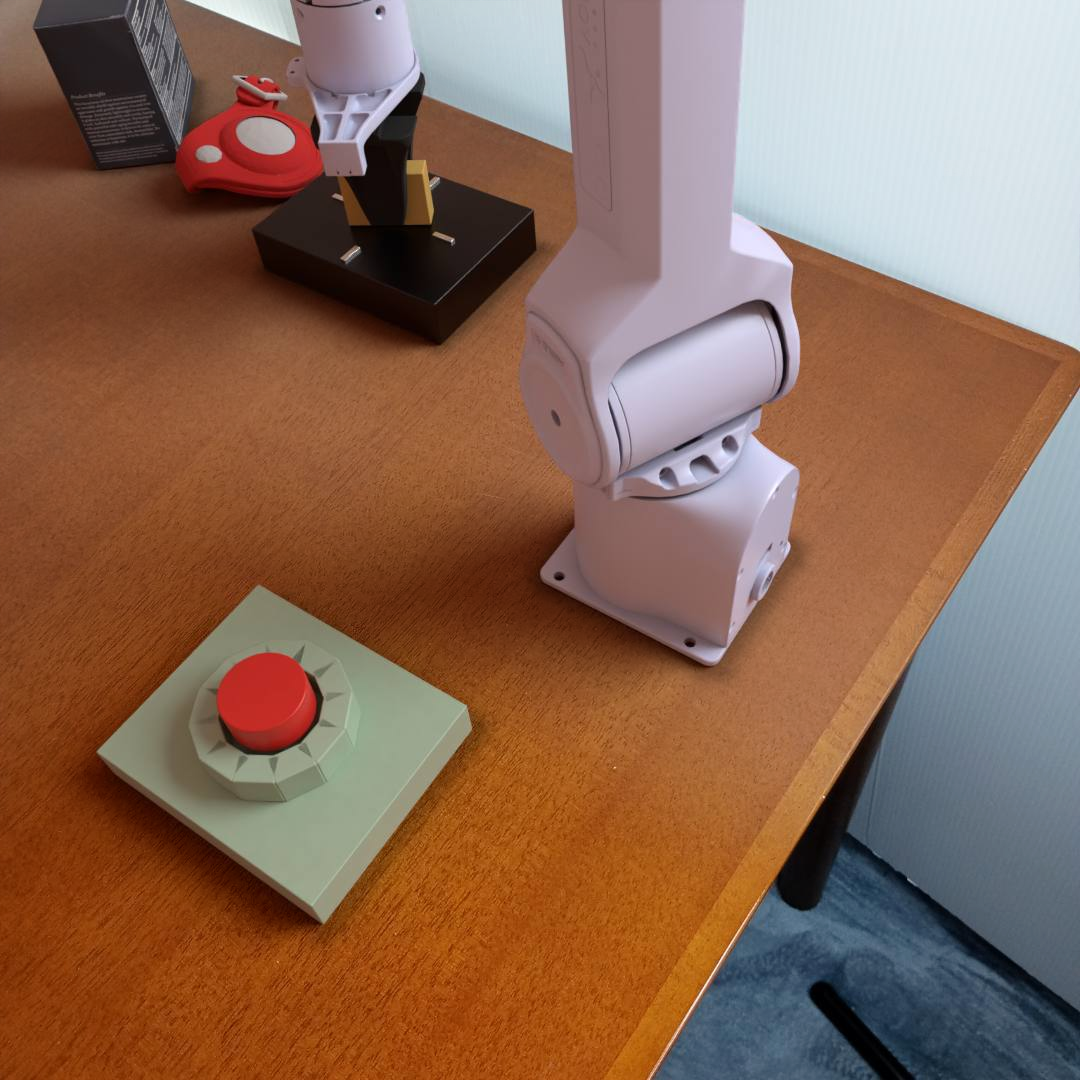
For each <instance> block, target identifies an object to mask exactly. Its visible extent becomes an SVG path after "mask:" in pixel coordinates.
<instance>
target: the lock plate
mask: <svg viewBox="0 0 1080 1080" xmlns="http://www.w3.org/2000/svg"><path fill="white" fill-rule="evenodd" d="M428 177H429V183H430V190H431V196H432V202H433V208H434V213H433V218H432V223H431V225H402V226H372V225H359V226H350V225H349V222H348V218H347V214H346V210H345V205H344V201H343V197H342V193H341V189H340V185H339V180H338V176H326V174H325V170H323V171H322V174H320V175H319V176H318V177H317V178H315V179H314V180H313V181H312V182H310V183H309V184H308V185H307V186H305V187H304V188H303V189H302V190H300V191H299V192H298V193H297V194H295V195H294V196H292V197H289V199H288V200H286V201H285V202H284V203H283V204H281V205H280V206H279V207H277V208H276V209H275V210H274V211H272V212H271V213H270V214H269V215H268V216H266V217H264V219H262V220H261V221H260V222H258V224H256V225H255V226H253V227H252V228H251V232H252V235H253V239H254V242H255V246H256V249H257V252H258V254H259V257H260V260H261V264H262V266H263V269H264V270H265V271H266V270H267V272H271V273H273V274H276V275H277V276H280V277H282V278H285V279H287V280H289V281H291V282H294V283H296V284H299V285H300V286H301V285H302V286H303V287H306V288H308V289H310V290H312V291H315V292H317V293H319V294H321V295H323V296H324V295H325V296H327V297H329V298H332V299H334V300H336V301H338V302H341V303H343V304H345V305H348V306H350V307H352V308H355V309H357V310H359V311H362V312H364V313H366V314H369V315H371V316H373V317H376V318H378V319H379V320H383V321H385V322H387V323H390V324H391V325H394V326H397V327H399V328H401V329H404V330H406V331H408V332H410V333H412V334H415V335H417V336H420V337H422V338H425V339H427V340H429V341H432V342H434V343H436V344H438V345H443V344H444V343H445V342H446V341H447V340H448V339H449V338H450V337H451V336H452V335H453V334H454V333H455V332H456V331H457V330H458V329H459V328H460V327H461V326H462V325H463V324H464V323H465V322H466V321H467V320H468V319H469V318H470V317H471V316H472V315H473V314H474V313H475V312H476V311H477V310H478V309H479V308H480V307H481V306H482V305H483V304H484V303H485V302H486V301H487V300H488V299H489V298H490V297H491V296H492V295H493V294H494V293H495V292H496V291H497V290H498V289H499V288H500V287H501V286H502V285H503V284H504V283H505V282H506V281H507V280H508V279H510V277H512V275H514V273H515V272H516V271H517V270H519V269H520V267H521V266H522V265H523V264H524V263H525V262H526V261H527V260H528V259H530V257H531V256H533V254H534V253H535V252H536V251H537V250H538V249H537V248H538V247H537V235H536V234H537V233H536V222H535V221H536V219H535V210H534V209H533V208H530V207H527V206H525V205H523V204H519V203H516V202H513V201H511V200H508V199H505V198H502V197H499V196H497V195H493V194H491V193H488V192H486V191H483V190H480V189H477V188H474V187H471V186H468V185H465V184H463V183H460V182H458V181H455V180H451V179H449V178H446V177H443V176H440V175H437V174H435V173H432V172H429V171H428Z"/></svg>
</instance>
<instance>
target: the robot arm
mask: <svg viewBox="0 0 1080 1080" xmlns="http://www.w3.org/2000/svg"><path fill="white" fill-rule="evenodd" d="M289 3H290V7H291V11H292V15H293V19H294V23H295V27H296V32H297V35H298V39H299V44H300V48H301V52H302V55H301V56H295V57H293V58H292V59H291V60H290V61H289V63H288V65H287V68H286V71H285V77H286V81H287V85H288V87H290V88H295V89H298V88H299V89H300V88H301V89H305V90H307V92H308V94H309V98H310V101H311V104H312V109H313V110H314V114H313V117H312V121H311V124H310V127H309V128H310V131H311V135H312V139H313V142H314V144H315V146H316V148H317V149H318V150H319V151H320V154H321V158H322V162H323V171H325V174H326V176H344V178H345V179H346V181H347V183H348V184H349V186H350V188H351V190H352V191H353V193H354V195H355V197H356V199H357V201H358V203H359V205H360V207H361V209H362V210H363V212H364V214H365V216H366V218H367V219H368V221H369V223H370V224H371V225H372V226H402V225H404V223H405V218H406V212H407V160H413V159H414V157H413V153H414V136H415V135H414V134H415V130H416V126H417V121H418V119H419V116H418V115H417V114H418V112H419V108H420V106H421V105H420V104H421V102H422V100H423V95H424V92H425V87H426V78H425V74H424V72H422V71H421V66H420V60H419V55H418V52H417V51H416V49H415V46H414V44H413V39H412V34H411V27H410V21H409V14H408V8H407V1H406V0H289ZM561 6H562V8H561V9H562V21H563V35H564V50H565V65H566V67H565V68H566V79H567V80H566V81H567V94H568V95H567V96H568V110H569V122H570V138H571V140H570V141H571V153H572V166H573V167H572V168H573V183H574V196H575V197H574V198H575V210H576V212H575V213H576V227H575V229H574V230H573V232H572V234H571V235H570V236H569V238H568V239H567V241H566V243H564V245H563V246H562V247H561V249H560V250H559V251H558V253H556V255H555V256H554V258H552V260H551V262H550V263H549V264H548V265H547V267H546V268H545V269H544V270H543V272H542V274H541V275H540V276H539V277H538V279H537V280H536V282H535V283H534V285H532V286H531V288H530V290H529V291H528V292H527V294H526V296H525V298H524V311H525V341H524V345H523V348H522V351H521V358H520V361H519V366H518V383H519V389H520V394H521V398H522V402H523V405H524V407H525V411H526V413H527V416H528V419H529V421H530V423H531V425H532V429H533V430H534V432H535V434H536V436H537V438H538V440H539V441H540V444H541V445H542V447H543V448H544V450H545V452H546V453H547V455H548V456H549V457H550V459H551V461H552V462H553V463H554V464H555V465H556V466H557V468H558V469H559V470H560V471H561V472H562V473H563V474H565V476H567V478H569V479H571V480H572V493H573V494H572V495H573V496H572V497H573V511H574V512H573V514H574V516H573V517H574V526H573V528H572V529H571V531H570V532H569V533H568V535H567V536H566V537H565V538H564V540H563V541H562V542H561V543H560V544H559V546H558V547H557V549H556V550H555V551H553V553H552V554H551V556H550V557H549V558H548V559H547V560H546V562H545V564H543V566H542V567H541V569H540V571H539V573H540V574H539V575H540V580H541V582H543V583H544V584H545V585H547V586H550V587H552V588H553V589H555V590H557V591H559V592H561V593H563V594H565V595H567V596H568V597H571V598H573V599H574V600H577V601H578V602H581V603H582V604H584V605H586V606H588V607H590V608H592V609H594V610H597V611H598V612H600V613H602V614H604V615H606V616H608V617H610V618H612V619H614V620H616V621H618V622H620V623H621V624H624V625H625V626H627V627H630V628H631V629H633V630H635V631H637V632H639V633H641V634H643V635H645V636H647V637H649V638H651V639H653V640H655V641H657V642H659V643H661V644H663V645H665V646H667V647H669V648H671V649H672V650H675V651H676V652H678V653H680V654H682V655H684V656H686V657H688V658H690V659H692V660H694V661H696V662H698V663H700V664H702V665H704V666H706V667H707V666H708V667H714V666H715V665H716V666H717V664H719V662H720V661H721V660H722V658H723V657H724V655H725V654H726V653H727V650H728V649H729V647H730V646H731V645H732V643H733V641H734V640H735V638H736V636H737V635H738V634H739V632H740V630H741V629H742V627H743V625H744V624H745V622H746V621H747V619H748V618H749V617H750V614H752V611H753V610H754V608H755V607H756V605H757V604H758V603H759V602H760V601H761V600H762V599H763V598H764V596H765V595H766V593H767V592H768V589H770V586H771V584H772V582H773V580H774V577H775V576H776V574H777V573H778V571H779V570H780V568H781V566H782V564H784V562H785V560H786V558H787V557H788V555H789V554H790V551H791V543H790V542H789V540H788V539H789V535H790V530H791V525H792V520H793V515H794V512H795V511H794V510H795V505H796V502H797V501H796V500H797V496H798V491H799V486H800V480H801V479H800V478H801V476H800V475H801V474H800V470H799V468H797V466H796V465H794V464H792V463H791V462H789V461H787V460H785V459H784V458H782V457H780V456H778V455H777V454H776V453H774V452H773V451H771V450H770V449H769V448H768V447H766V446H765V445H764V444H762V443H761V442H760V441H759V440H758V438H757V437H755V436H754V434H752V433H753V432H754V431H756V430H757V429H759V428H760V424H761V420H762V419H761V418H762V411H763V404H772V403H774V402H776V401H779V400H780V399H783V398H784V397H786V396H787V395H788V394H789V393H790V392H791V391H792V390H793V388H794V386H795V385H796V382H797V379H798V377H799V372H800V364H801V339H800V333H799V332H800V331H799V328H798V324H797V319H796V316H795V314H794V309H793V303H792V281H793V272H794V264H793V263H792V261H791V260H790V259H789V257H788V256H787V255H786V254H785V252H784V251H783V250H782V249H781V247H780V246H779V245H778V244H777V242H776V241H775V240H774V239H773V238H772V237H771V236H770V234H768V233H767V232H766V231H765V230H763V229H762V228H761V227H760V226H759V225H758V224H756V223H755V222H753V221H751V220H750V219H748V218H747V217H745V216H743V215H741V214H739V213H737V212H735V211H734V203H735V202H734V201H735V200H734V199H735V185H736V184H735V183H736V167H737V150H738V149H737V148H738V133H739V120H740V119H739V117H740V101H741V99H740V98H741V97H740V96H741V82H742V68H743V49H744V32H745V17H746V16H745V14H746V0H561ZM559 577H561V578H563V579H562V580H557V578H559ZM687 643H692V644H694V645H693V646H691V647H690V646H687V645H686V644H687Z"/></svg>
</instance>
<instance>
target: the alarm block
mask: <svg viewBox="0 0 1080 1080" xmlns="http://www.w3.org/2000/svg"><path fill="white" fill-rule="evenodd" d="M268 652H273V653H280V654H284V655H286V656H289V657H291V658H293V659H294V660H295V661H297V662H298V663H299V664H300V665H301V667H302V668H303V670H304V672H305V674H306V676H307V678H308V680H309V683H310V685H311V687H312V689H313V691H314V694H315V697H316V713H315V716H314V719H313V721H312V723H311V725H310V727H309V728H308V730H307V731H306V732H305V733H304V734H303V735H302V736H301V737H300V738H299V739H298V740H297V741H295V742H294V743H292V744H290V745H289V746H287V747H284V748H282V749H278V750H274V751H255V750H251V749H249V748H246V747H244V746H243V745H241V744H240V743H239V742H237V740H236V739H235V738H234V737H233V735H232V734H231V732H230V730H229V729H228V727H227V726H226V724H225V722H224V721H223V719H222V718H221V716H220V714H219V712H218V708H217V702H216V700H217V692H218V688H219V685H220V683H221V681H222V679H223V678H224V676H225V675H226V674H227V672H228V671H229V670H230V669H231V668H232V667H233V666H235V665H236V664H237V663H239V662H240V661H242V660H243V659H245V658H247V657H250V656H252V655H256V654H260V653H268ZM472 731H473V727H472V722H471V718H470V714H469V709H468V705H467V704H464V703H462V702H461V701H459V700H457V699H456V698H455V697H452V696H451V695H449V694H448V693H446V692H444V691H442V690H440V689H439V688H437V687H435V686H434V685H432V684H430V683H428V682H427V681H425V680H423V679H422V678H420V677H418V676H416V675H415V674H414V673H412V672H410V671H408V670H407V669H404V668H403V667H401V666H400V665H398V664H396V663H394V662H393V661H390V660H389V659H388V658H385V657H384V656H382V655H381V654H379V653H377V652H375V651H373V650H372V649H370V648H368V647H367V646H365V645H363V644H362V643H360V642H358V641H357V640H355V639H353V638H351V637H349V636H348V635H346V634H344V633H343V632H341V631H339V630H338V629H336V628H334V627H332V626H331V625H329V624H327V623H325V622H324V621H323V620H321V619H318V618H317V617H316V616H314V615H312V614H310V613H308V612H306V611H305V610H304V609H302V608H300V607H298V606H296V605H295V604H292V603H291V602H289V601H288V600H286V599H284V598H283V597H281V596H279V595H278V594H276V593H274V592H272V591H270V590H269V589H267V588H266V587H264V586H262V585H260V584H257V585H256V586H255V587H254V588H253V589H252V590H251V591H250V592H249V593H248V594H247V596H246V597H244V598H243V600H242V601H241V602H239V604H238V605H236V607H235V608H234V609H233V610H232V611H231V612H230V613H229V614H228V615H227V616H226V617H225V618H223V620H222V621H221V622H220V623H219V624H218V626H216V628H215V629H213V631H211V632H210V634H208V636H207V637H205V638H204V640H203V641H202V642H201V643H200V644H199V645H198V646H197V647H196V648H195V649H194V650H193V651H192V652H191V653H190V654H189V655H188V656H187V657H186V658H185V659H184V660H183V661H182V662H181V663H180V665H179V666H178V667H176V669H174V671H173V672H172V673H171V674H170V675H169V676H168V677H167V678H166V679H165V680H164V681H163V682H162V683H161V684H160V685H159V686H158V687H157V689H155V690H154V691H153V692H152V693H151V694H150V695H149V697H147V699H145V700H144V701H143V702H142V704H141V705H140V706H139V707H138V708H137V709H136V710H135V711H134V712H133V713H132V714H131V715H130V716H129V717H128V718H127V719H126V720H125V721H124V722H123V723H122V724H121V725H120V726H119V728H117V730H115V732H113V734H112V735H111V736H110V737H109V738H108V739H107V740H106V741H105V742H104V743H103V744H102V745H101V746H100V747H99V748H98V749H97V750H96V754H97V755H98V757H99V758H100V759H101V761H103V762H104V763H105V765H106V766H107V767H108V768H109V769H110V771H112V773H113V774H115V775H116V777H118V778H119V779H121V780H122V781H124V782H125V783H126V784H128V785H129V786H131V787H132V788H134V790H136V791H138V792H139V793H140V794H141V795H143V796H144V797H146V798H147V799H148V800H150V801H151V802H152V803H154V804H155V805H156V806H158V807H160V808H161V809H162V810H164V811H165V812H167V814H169V815H171V816H172V817H174V818H175V819H176V820H178V821H179V822H180V823H182V824H183V825H184V826H186V827H188V828H189V829H190V830H192V831H193V832H194V833H196V834H197V835H198V836H200V837H202V838H203V839H204V840H205V841H207V842H208V843H209V844H211V845H212V846H213V847H215V848H216V849H218V850H219V851H221V852H222V853H223V854H224V855H226V856H228V857H229V858H230V859H231V860H233V861H234V862H235V863H237V864H238V865H239V866H241V867H243V868H244V869H245V870H246V871H248V872H249V873H251V874H252V875H254V877H257V878H258V879H259V880H260V881H261V882H263V883H264V884H265V885H267V886H269V887H270V888H271V889H273V890H274V891H276V892H277V893H278V894H280V895H281V896H282V897H284V898H285V899H287V900H288V901H289V902H291V903H292V904H293V905H295V906H296V907H298V908H299V909H301V910H302V911H303V912H304V913H306V914H308V916H310V917H312V918H313V919H315V921H317V922H319V923H320V924H321V925H325V923H326V922H327V921H328V920H329V918H330V917H331V916H332V914H333V913H334V912H335V910H336V909H337V908H338V907H339V905H340V904H341V903H342V901H343V900H344V898H345V897H346V896H347V895H348V893H349V892H350V891H351V889H352V888H353V886H355V884H356V883H357V882H358V881H359V879H360V877H362V875H363V873H364V872H365V871H366V870H367V868H369V866H370V865H371V863H372V862H373V860H374V859H375V858H376V857H377V855H378V854H379V853H380V852H381V850H382V849H383V848H384V846H385V845H386V843H387V842H388V841H389V840H390V838H391V837H392V836H393V835H394V833H395V832H396V830H397V829H398V828H399V826H400V825H401V823H402V822H403V821H404V820H405V818H406V817H408V814H409V813H410V812H411V811H412V809H413V808H414V807H415V805H416V804H417V803H418V802H419V801H420V799H421V798H422V796H423V795H424V793H426V791H427V790H428V788H429V787H430V786H431V784H433V782H434V780H435V779H436V778H437V777H438V776H439V774H440V772H441V771H442V770H443V768H444V767H445V766H446V764H447V763H449V761H450V760H451V758H452V757H453V756H454V754H455V753H456V751H458V749H459V747H460V746H461V745H462V744H463V742H464V741H465V740H466V738H467V737H468V736H469V734H470V733H471V732H472Z"/></svg>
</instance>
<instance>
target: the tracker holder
mask: <svg viewBox="0 0 1080 1080" xmlns="http://www.w3.org/2000/svg"><path fill="white" fill-rule="evenodd" d="M230 78H231V79H230V80H231V82H232V83H234V84H237V85H238V86H237V87H236V90H235V93H236V97H237V99H236V101H235V102H234V103H233V104H231V106H230V107H229V108H228V109H227V110H225V111H223V112H221V113H218V114H216V115H215V116H213V117H211V118H210V119H208V120H206V121H205V122H203V123H202V124H200V125H198V126H197V127H195V128H193V129H192V130H190V132H189V133H187V135H186V136H185V138H184V139H183V140H182V142H181V145H180V147H179V150H178V152H177V156H176V161H175V164H174V170H175V171H176V173H177V175H178V177H179V178H180V181H181V183H182V184H183V186H184V187H185V190H186V191H187V192H188V193H189V194H191V195H194V194H198V193H201V192H203V191H204V190H206V189H219V190H225V191H229V192H232V193H235V194H242V195H247V196H253V197H259V198H260V197H261V198H271V199H272V198H273V199H286V198H292V197H293V196H294V195H295V194H297V193H298V192H299V191H300V190H302V189H303V188H304V187H305V186H307V185H308V184H309V183H310V182H312V181H313V180H314V179H315V178H317V177H318V176H319V175H320V174H322V173H323V172H324V166H323V162H322V158H321V154H320V151H319V150H318V149H317V148H316V146H315V144H314V142H313V139H312V135H311V131H310V127H308V126H307V124H305V123H304V122H302V121H301V120H299V119H297V117H296V118H295V117H294V116H292V115H291V114H287V113H286V112H282V111H279V110H277V108H278V105H279V102H280V101H287V100H288V98H289V97H288V94H286V93H284V92H283V91H281V88H280V85H279V84H277V83H274V80H273V79H271V78H269V77H258V76H256V75H253V74H251V75H237V74H236V75H232V76H230Z"/></svg>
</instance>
